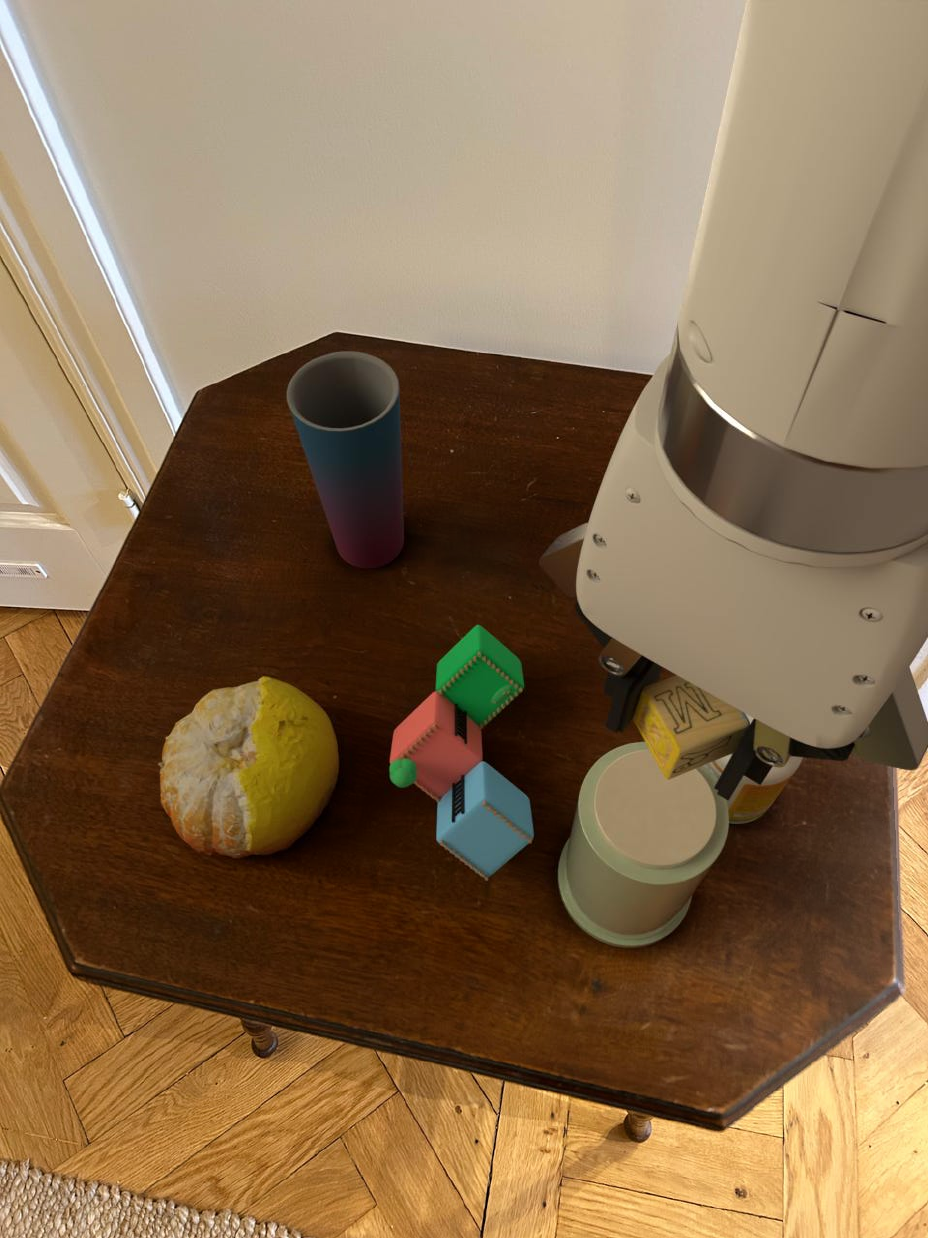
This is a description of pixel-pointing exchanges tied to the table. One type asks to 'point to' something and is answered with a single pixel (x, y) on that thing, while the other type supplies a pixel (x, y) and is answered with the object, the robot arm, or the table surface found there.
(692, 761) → the alphabet block
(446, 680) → the building blocks
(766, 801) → the supplement bottle
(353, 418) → the cup
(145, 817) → the table surface
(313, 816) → the fruit
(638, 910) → the upturned tumbler
